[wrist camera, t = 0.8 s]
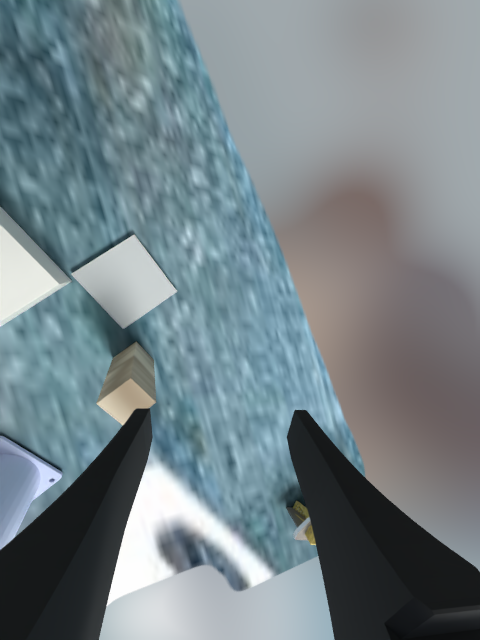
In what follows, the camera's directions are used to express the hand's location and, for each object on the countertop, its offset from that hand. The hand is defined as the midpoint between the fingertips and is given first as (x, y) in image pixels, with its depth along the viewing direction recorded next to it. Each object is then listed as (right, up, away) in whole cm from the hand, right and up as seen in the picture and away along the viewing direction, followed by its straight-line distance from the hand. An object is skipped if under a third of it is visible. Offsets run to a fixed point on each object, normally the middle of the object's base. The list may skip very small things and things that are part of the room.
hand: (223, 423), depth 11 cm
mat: (-11, +9, +13) cm, 19 cm away
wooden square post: (-11, +1, +15) cm, 18 cm away
